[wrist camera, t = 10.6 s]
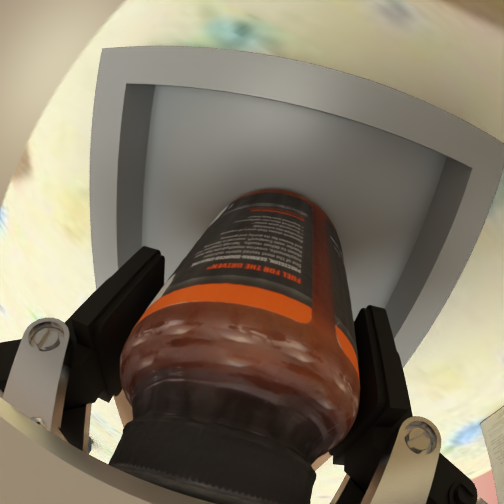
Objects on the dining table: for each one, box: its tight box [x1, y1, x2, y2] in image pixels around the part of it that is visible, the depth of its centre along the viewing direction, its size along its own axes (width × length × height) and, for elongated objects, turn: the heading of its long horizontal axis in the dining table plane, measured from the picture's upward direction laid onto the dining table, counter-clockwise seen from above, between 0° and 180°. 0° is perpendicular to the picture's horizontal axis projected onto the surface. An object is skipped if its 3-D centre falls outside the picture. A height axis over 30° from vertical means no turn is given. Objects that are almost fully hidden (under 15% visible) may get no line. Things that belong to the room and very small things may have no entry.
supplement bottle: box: [108, 189, 360, 504], centre depth 9 cm, size 6×6×11 cm
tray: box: [90, 46, 504, 368], centre depth 13 cm, size 16×16×3 cm
